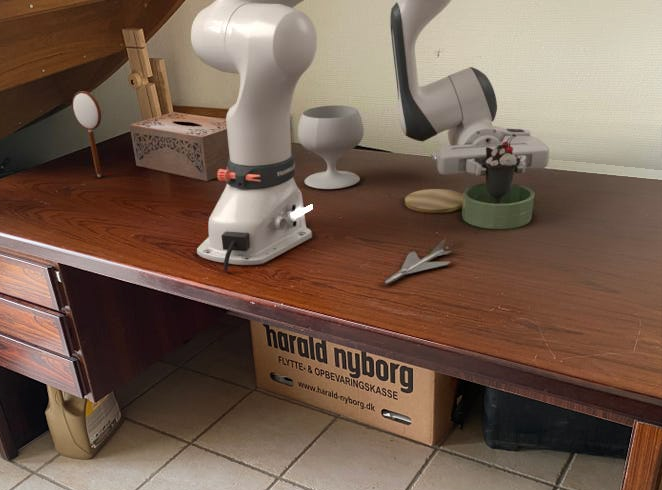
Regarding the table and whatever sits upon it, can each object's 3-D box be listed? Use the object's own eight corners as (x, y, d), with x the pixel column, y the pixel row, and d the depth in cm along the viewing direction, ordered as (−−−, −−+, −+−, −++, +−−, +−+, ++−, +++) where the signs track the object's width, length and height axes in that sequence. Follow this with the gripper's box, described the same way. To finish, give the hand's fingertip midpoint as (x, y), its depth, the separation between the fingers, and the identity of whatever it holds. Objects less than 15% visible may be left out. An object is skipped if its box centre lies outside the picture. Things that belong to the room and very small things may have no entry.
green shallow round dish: (523, 232, 127) (526, 208, 125) (453, 224, 133) (454, 200, 130) (538, 209, 136) (541, 186, 134) (472, 202, 142) (474, 180, 139)
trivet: (456, 216, 136) (456, 212, 136) (396, 209, 142) (396, 205, 141) (474, 195, 145) (474, 192, 144) (416, 190, 150) (417, 186, 150)
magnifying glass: (84, 176, 176) (66, 90, 166) (89, 174, 178) (72, 89, 167) (109, 180, 172) (93, 92, 162) (115, 178, 173) (98, 91, 163)
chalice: (346, 195, 151) (344, 121, 143) (288, 188, 157) (284, 117, 150) (374, 175, 161) (374, 105, 153) (319, 169, 167) (316, 102, 160)
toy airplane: (364, 280, 115) (364, 267, 114) (439, 239, 127) (440, 226, 126) (404, 293, 110) (404, 279, 109) (477, 249, 122) (479, 236, 121)
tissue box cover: (136, 165, 181) (129, 124, 176) (179, 151, 190) (173, 112, 185) (207, 181, 166) (202, 137, 161) (250, 164, 175) (246, 122, 170)
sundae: (519, 220, 131) (528, 136, 124) (481, 222, 132) (488, 139, 124) (509, 207, 137) (518, 127, 129) (473, 210, 137) (480, 129, 129)
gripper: (429, 136, 140) (444, 156, 128) (536, 129, 139) (561, 148, 127) (428, 168, 143) (442, 191, 131) (532, 161, 142) (556, 183, 130)
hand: (502, 170), depth 129 cm, fingers closed on sundae, 5 cm apart
